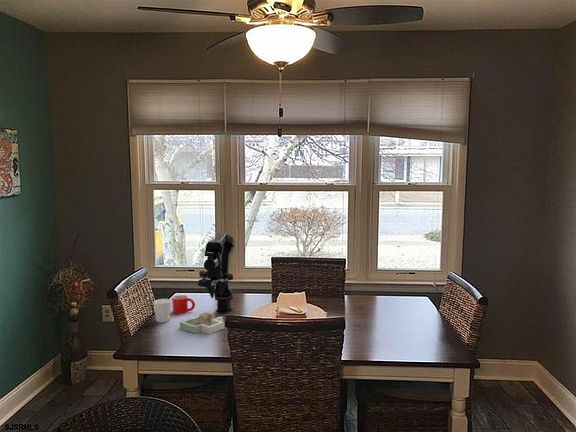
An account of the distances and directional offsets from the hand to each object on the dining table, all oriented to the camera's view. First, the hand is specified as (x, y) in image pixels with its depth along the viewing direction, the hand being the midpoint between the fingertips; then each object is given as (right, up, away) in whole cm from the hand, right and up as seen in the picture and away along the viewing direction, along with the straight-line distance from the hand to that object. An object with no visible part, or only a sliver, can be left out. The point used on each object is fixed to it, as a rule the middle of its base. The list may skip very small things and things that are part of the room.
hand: (216, 296), depth 246 cm
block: (-4, -13, -4) cm, 14 cm away
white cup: (-27, -13, +3) cm, 30 cm away
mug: (-19, -11, +15) cm, 27 cm away
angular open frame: (-4, -13, -8) cm, 16 cm away
